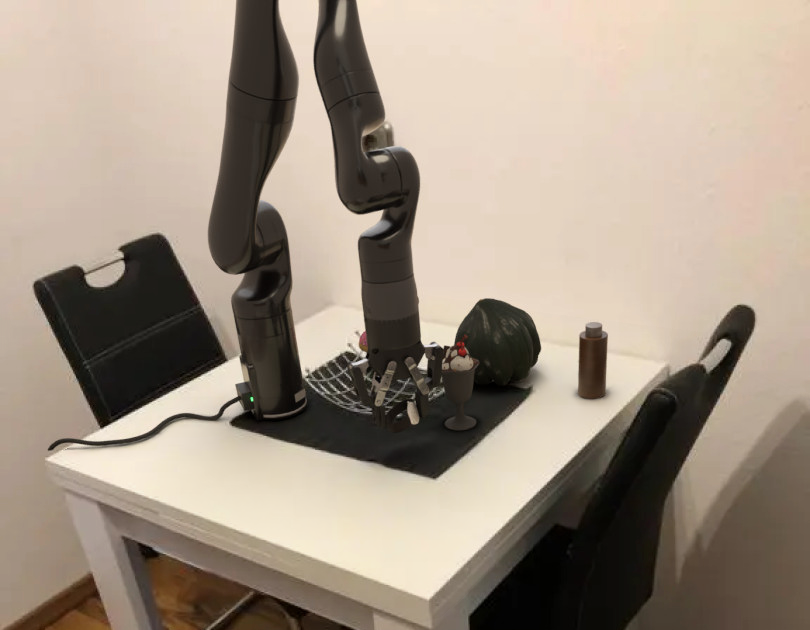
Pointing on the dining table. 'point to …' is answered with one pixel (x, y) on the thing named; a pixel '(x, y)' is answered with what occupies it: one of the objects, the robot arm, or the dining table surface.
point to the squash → (499, 341)
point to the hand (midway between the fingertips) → (401, 420)
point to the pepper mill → (592, 361)
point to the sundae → (458, 383)
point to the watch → (407, 421)
